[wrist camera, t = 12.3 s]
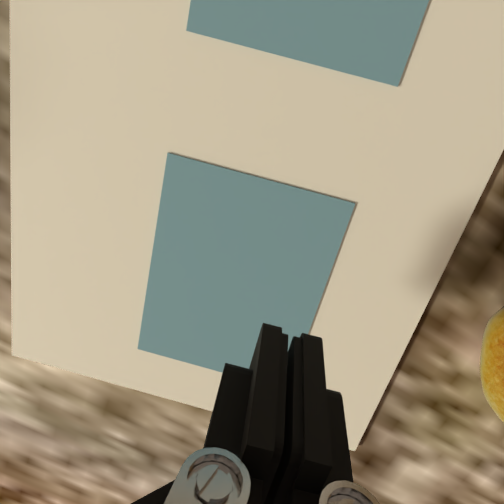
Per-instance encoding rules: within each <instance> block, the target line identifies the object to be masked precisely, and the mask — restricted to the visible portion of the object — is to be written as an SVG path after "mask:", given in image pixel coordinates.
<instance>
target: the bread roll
mask: <svg viewBox="0 0 504 504" xmlns="http://www.w3.org/2000/svg"><path fill="white" fill-rule="evenodd" d="M480 376H481V383H482V389H483V392H484V395H485V398H486V400H487V401H488V403H489V405H490V406H491V408H492V409H493V411H494V412H495V413H496V415H497V416H498V417H499V418H500V419H501V420H502V422H503V423H504V307H503V308H501V309H500V310H499V311H498V312H497V313H496V314H495V315H493V316H492V317H491V319H490V320H489V321H488V324H487V326H486V328H485V331H484V334H483V340H482V347H481V356H480Z"/></svg>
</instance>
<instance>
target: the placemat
mask: <svg viewBox="0 0 504 504" xmlns="http://www.w3.org/2000/svg"><path fill="white" fill-rule="evenodd" d="M10 144H11V302H12V356H16V357H20V358H23V359H27V360H30V361H34V362H37V363H41V364H45V365H48V366H52V367H55V368H59V369H63V370H66V371H70V372H73V373H77V374H80V375H84V376H88V377H91V378H95V379H98V380H102V381H106V382H109V383H113V384H116V385H120V386H123V387H127V388H131V389H134V390H138V391H141V392H145V393H148V394H152V395H156V396H159V397H163V398H166V399H170V400H174V401H177V402H181V403H184V404H188V405H191V406H195V407H199V408H202V409H206V410H209V411H213V408H214V404H215V400H216V396H217V392H218V388H219V385H220V381H221V377H222V373H223V369H224V365H225V363H228V364H232V365H236V366H240V367H244V368H248V369H249V367H250V364H251V360H252V357H253V353H254V350H255V347H256V343H257V340H258V337H259V333H260V330H261V327H262V324H263V323H266V324H270V325H274V326H278V327H282V333H284V334H288V350H289V347H290V344H291V341H292V338H293V336H296V337H300V336H301V334H302V333H305V334H309V335H313V336H317V337H321V338H322V341H323V353H324V365H325V377H326V389H329V390H333V391H337V392H340V393H341V394H342V399H343V406H344V414H345V421H346V429H347V437H348V445H349V450H353V451H355V450H356V448H357V446H358V444H359V442H360V440H361V438H362V436H363V434H364V432H365V430H366V428H367V426H368V424H369V422H370V420H371V418H372V416H373V414H374V411H375V409H376V407H377V405H378V403H379V401H380V399H381V397H382V395H383V393H384V391H385V389H386V387H387V385H388V383H389V381H390V379H391V377H392V375H393V373H394V371H395V369H396V367H397V365H398V363H399V361H400V359H401V357H402V355H403V353H404V351H405V349H406V347H407V345H408V343H409V340H410V338H411V336H412V334H413V332H414V330H415V328H416V326H417V324H418V322H419V320H420V318H421V316H422V314H423V312H424V310H425V308H426V306H427V304H428V302H429V300H430V298H431V296H432V294H433V292H434V290H435V288H436V286H437V284H438V282H439V280H440V278H441V276H442V274H443V272H444V269H445V267H446V265H447V263H448V261H449V259H450V257H451V255H452V253H453V251H454V249H455V247H456V245H457V243H458V241H459V239H460V237H461V235H462V233H463V231H464V229H465V227H466V225H467V223H468V221H469V219H470V217H471V215H472V213H473V211H474V209H475V207H476V205H477V203H478V201H479V198H480V196H481V194H482V192H483V190H484V188H485V186H486V184H487V182H488V180H489V178H490V176H491V174H492V172H493V170H494V168H495V166H496V164H497V162H498V160H499V158H500V156H501V154H502V152H503V150H504V0H10Z"/></svg>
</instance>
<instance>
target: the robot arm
mask: <svg viewBox="0 0 504 504" xmlns="http://www.w3.org/2000/svg"><path fill="white" fill-rule="evenodd" d="M131 504H380V503H379V502H378V500H377V499H376V498H375V497H374V496H373V495H372V494H371V493H370V492H369V491H368V490H367V489H365V488H363V487H362V486H360V485H358V484H356V483H353V477H352V469H351V461H350V453H349V445H348V437H347V429H346V421H345V414H344V406H343V399H342V394H341V393H340V392H337V391H333V390H329V389H326V377H325V365H324V353H323V341H322V338H321V337H317V336H313V335H309V334H305V333H302V334H301V336H300V337H296V336H293V338H292V341H291V344H290V347H289V350H288V334H284V333H282V327H278V326H274V325H270V324H266V323H263V324H262V327H261V330H260V333H259V337H258V340H257V343H256V347H255V350H254V353H253V357H252V360H251V364H250V367H249V369H248V368H244V367H240V366H236V365H232V364H228V363H225V365H224V369H223V373H222V377H221V381H220V385H219V388H218V392H217V396H216V400H215V404H214V408H213V412H212V416H211V420H210V424H209V428H208V432H207V436H206V440H205V444H204V448H203V449H201V450H198V451H195V452H194V453H193V454H191V455H190V456H189V457H188V458H187V459H186V461H185V462H184V463H183V465H182V467H181V469H180V471H179V473H178V475H177V477H176V479H175V480H174V481H172V482H170V483H168V484H167V485H165V486H163V487H161V488H159V489H157V490H155V491H154V492H152V493H150V494H148V495H146V496H144V497H142V498H141V499H139V500H137V501H135V502H133V503H131Z"/></svg>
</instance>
